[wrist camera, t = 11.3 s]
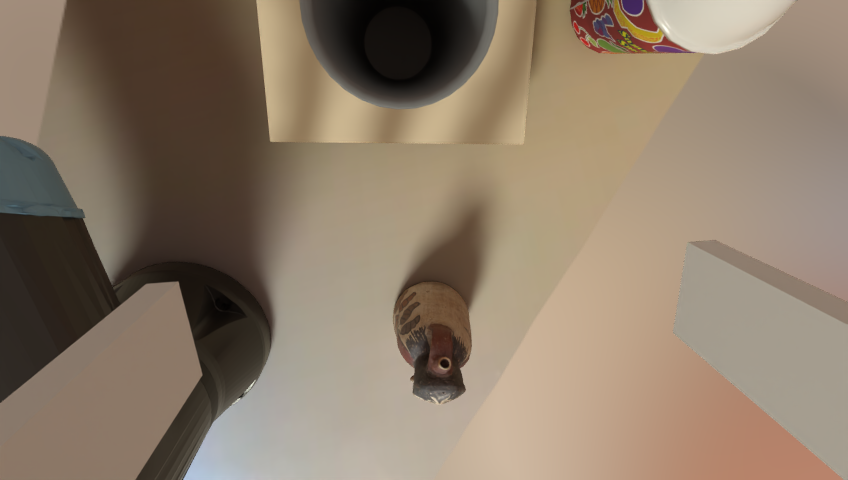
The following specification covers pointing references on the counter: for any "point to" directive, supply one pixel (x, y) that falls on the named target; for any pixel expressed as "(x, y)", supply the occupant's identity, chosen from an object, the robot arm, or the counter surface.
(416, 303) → the figurine
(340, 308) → the counter surface
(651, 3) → the smoothie
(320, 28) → the cup
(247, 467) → the counter surface
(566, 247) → the counter surface
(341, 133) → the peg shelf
